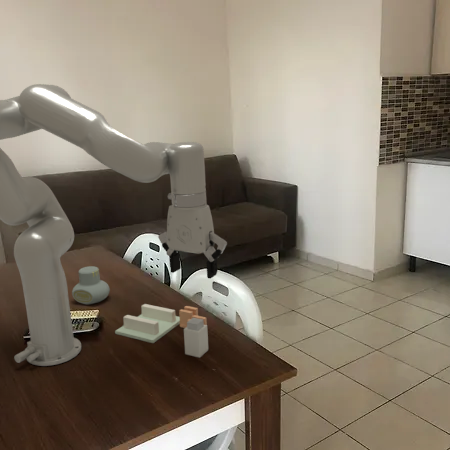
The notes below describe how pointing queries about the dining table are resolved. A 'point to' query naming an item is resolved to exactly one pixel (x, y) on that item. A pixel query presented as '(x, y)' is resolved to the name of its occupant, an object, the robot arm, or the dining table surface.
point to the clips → (189, 315)
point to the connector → (196, 337)
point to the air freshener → (90, 286)
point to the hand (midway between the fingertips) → (193, 273)
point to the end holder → (149, 323)
